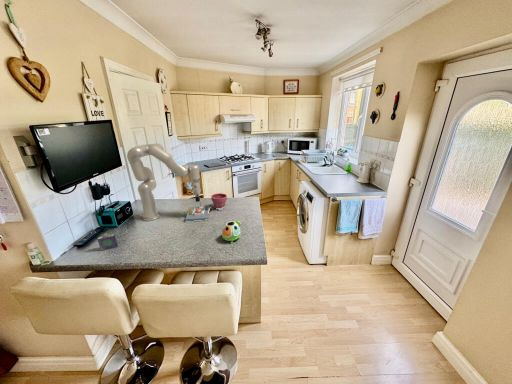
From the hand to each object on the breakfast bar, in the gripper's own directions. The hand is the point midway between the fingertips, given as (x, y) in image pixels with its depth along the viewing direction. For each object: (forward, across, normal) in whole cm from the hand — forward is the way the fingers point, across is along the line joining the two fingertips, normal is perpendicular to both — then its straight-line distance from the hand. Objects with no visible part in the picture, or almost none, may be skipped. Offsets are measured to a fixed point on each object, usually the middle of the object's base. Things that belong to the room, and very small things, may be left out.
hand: (197, 201), depth 168 cm
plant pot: (+15, +15, -16) cm, 27 cm away
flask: (+14, -40, +52) cm, 67 cm away
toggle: (+11, +12, +1) cm, 16 cm away
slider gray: (+11, +8, -5) cm, 15 cm away
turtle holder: (+15, -36, -28) cm, 48 cm away
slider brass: (+11, +1, +8) cm, 14 cm away
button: (+10, 0, +1) cm, 10 cm away
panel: (+14, +3, +1) cm, 15 cm away
